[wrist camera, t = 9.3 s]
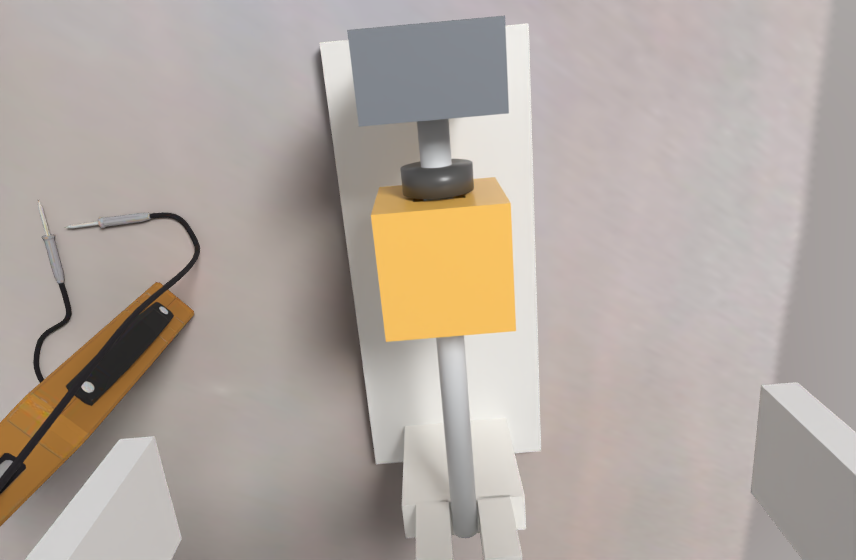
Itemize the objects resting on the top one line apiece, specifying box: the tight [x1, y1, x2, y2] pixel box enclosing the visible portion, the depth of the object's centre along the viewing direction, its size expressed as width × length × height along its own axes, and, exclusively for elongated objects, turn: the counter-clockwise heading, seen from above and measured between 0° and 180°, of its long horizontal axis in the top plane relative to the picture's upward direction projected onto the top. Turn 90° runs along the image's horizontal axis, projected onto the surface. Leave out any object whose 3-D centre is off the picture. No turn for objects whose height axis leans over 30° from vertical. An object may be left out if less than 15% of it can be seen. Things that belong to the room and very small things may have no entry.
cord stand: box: [320, 16, 541, 560], centre depth 30 cm, size 24×10×12 cm, turn 5°
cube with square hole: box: [371, 177, 516, 342], centre depth 26 cm, size 5×5×5 cm
